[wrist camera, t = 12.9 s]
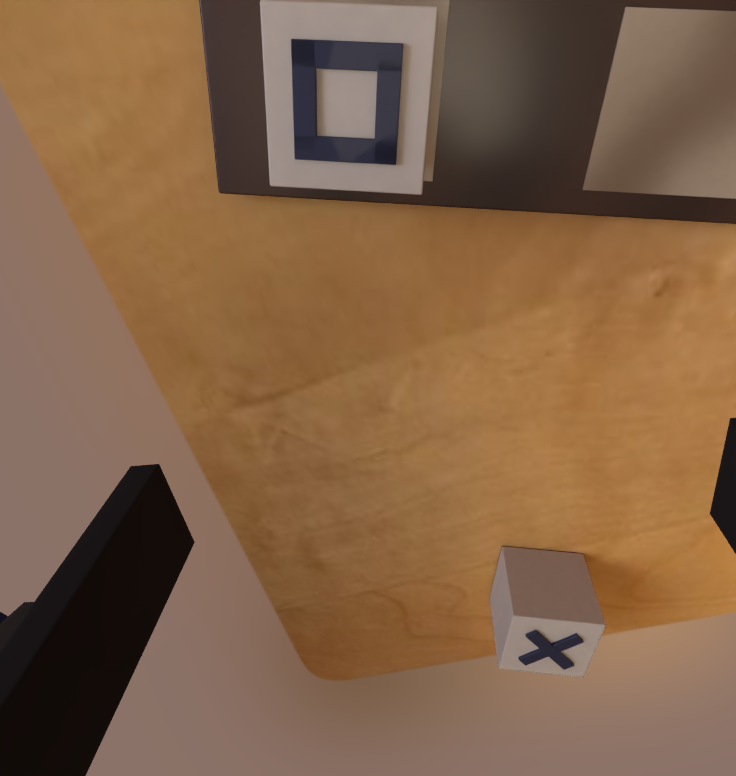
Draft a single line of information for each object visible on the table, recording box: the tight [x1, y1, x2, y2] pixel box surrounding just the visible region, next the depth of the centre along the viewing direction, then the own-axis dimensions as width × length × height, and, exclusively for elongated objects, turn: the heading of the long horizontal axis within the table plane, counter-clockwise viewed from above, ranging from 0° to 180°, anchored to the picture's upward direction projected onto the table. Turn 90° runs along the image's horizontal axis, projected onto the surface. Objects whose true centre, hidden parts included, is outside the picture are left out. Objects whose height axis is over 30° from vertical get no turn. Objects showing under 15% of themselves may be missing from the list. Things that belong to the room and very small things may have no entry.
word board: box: [199, 0, 736, 224], centre depth 21 cm, size 24×8×1 cm, turn 88°
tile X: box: [490, 546, 606, 677], centre depth 33 cm, size 5×5×5 cm
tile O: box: [260, 0, 438, 195], centre depth 18 cm, size 5×5×5 cm
